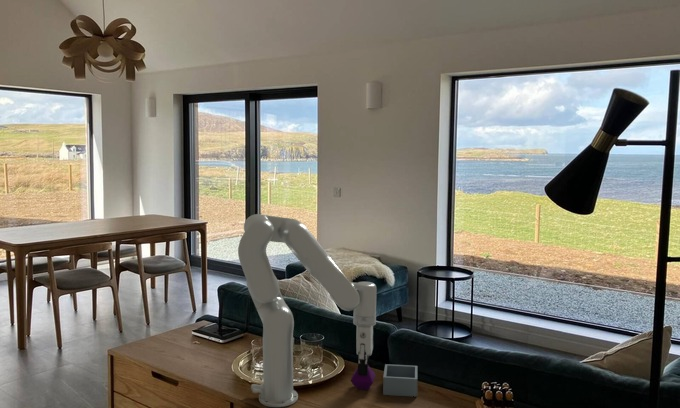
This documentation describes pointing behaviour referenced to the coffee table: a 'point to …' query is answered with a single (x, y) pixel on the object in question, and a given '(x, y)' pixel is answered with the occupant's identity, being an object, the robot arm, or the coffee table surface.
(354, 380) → the perfume bottle
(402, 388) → the walled box
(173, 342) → the coffee table surface
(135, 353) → the coffee table surface
